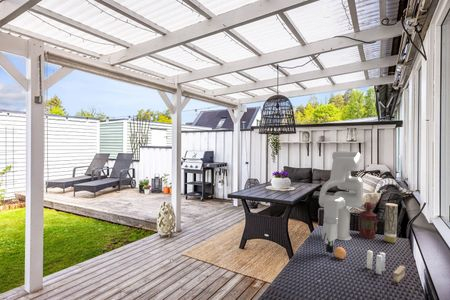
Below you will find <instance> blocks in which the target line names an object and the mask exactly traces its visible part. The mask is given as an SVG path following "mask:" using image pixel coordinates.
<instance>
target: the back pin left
mask: <svg viewBox="0 0 450 300" xmlns="http://www.w3.org/2000/svg"><path fill="white" fill-rule="evenodd" d="M379 255H381V256H382V272H385V270H386V253H385V252H382V251H381V252H379Z"/></svg>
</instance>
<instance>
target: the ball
mask: <svg viewBox="0 0 450 300" xmlns="http://www.w3.org/2000/svg"><path fill="white" fill-rule="evenodd" d="M333 254H334V256H335V257H336V258H337V259H344V258H346V255H347V252H346V250H345V249H344V248H343V247H342V246H337V247H335V248H334V249H333Z"/></svg>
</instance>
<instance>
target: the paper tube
mask: <svg viewBox="0 0 450 300" xmlns="http://www.w3.org/2000/svg"><path fill="white" fill-rule="evenodd" d="M398 206H399V205H398V204H396V203H390V202H389V203H388V202H387V203H385V211H384V231H383V232H384V234H383V235H384V237H383V239H384V241H385V242H387V243H391V244H394V243H397V230H398V229H397V228H398V227H397V226H398Z"/></svg>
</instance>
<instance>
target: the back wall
mask: <svg viewBox="0 0 450 300" xmlns="http://www.w3.org/2000/svg"><path fill="white" fill-rule="evenodd" d="M405 275H406V266H405V265H402V264H401V265H399V266H398V267H397V268H396V270H394V271H393V281H392V282H394V283H397V284H399V282H401V281H402V279H403V278H404V277H405Z"/></svg>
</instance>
